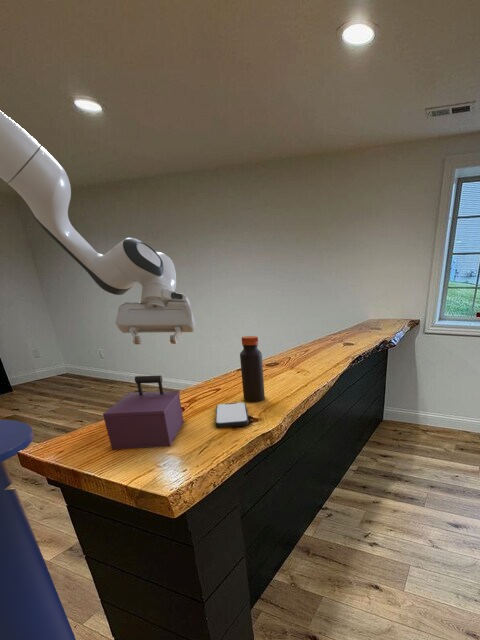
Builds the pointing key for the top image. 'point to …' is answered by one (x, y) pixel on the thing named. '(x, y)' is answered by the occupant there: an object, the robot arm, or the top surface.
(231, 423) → the smartphone
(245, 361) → the bottle
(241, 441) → the top surface
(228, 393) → the top surface
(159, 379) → the lid
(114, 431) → the purple box
